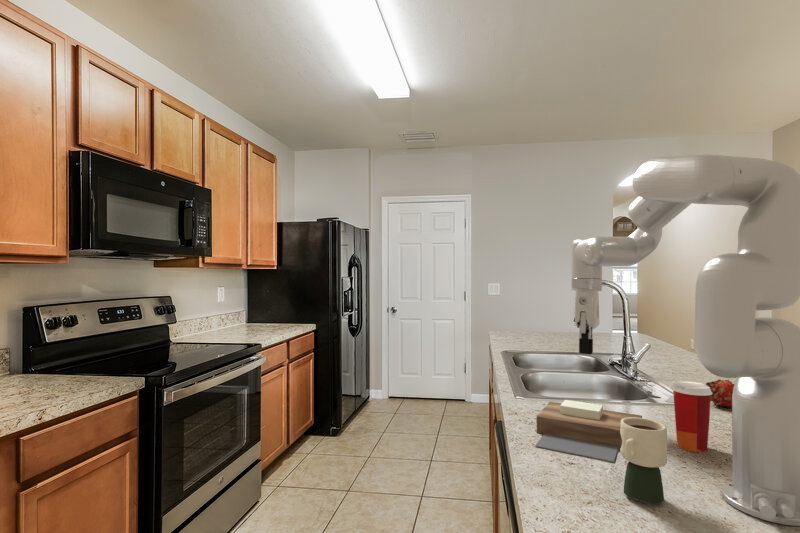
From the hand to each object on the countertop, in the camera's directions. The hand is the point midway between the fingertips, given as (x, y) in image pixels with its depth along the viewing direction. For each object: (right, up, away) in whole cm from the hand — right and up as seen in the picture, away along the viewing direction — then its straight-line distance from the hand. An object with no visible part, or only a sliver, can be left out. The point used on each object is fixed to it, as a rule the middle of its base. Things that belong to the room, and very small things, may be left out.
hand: (585, 353), depth 119 cm
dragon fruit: (+45, -18, +11) cm, 49 cm away
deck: (-3, -17, -10) cm, 20 cm away
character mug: (-7, -17, -42) cm, 46 cm away
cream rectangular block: (-5, -13, -8) cm, 16 cm away
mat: (-10, -17, -20) cm, 28 cm away
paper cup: (+16, -18, -19) cm, 30 cm away
